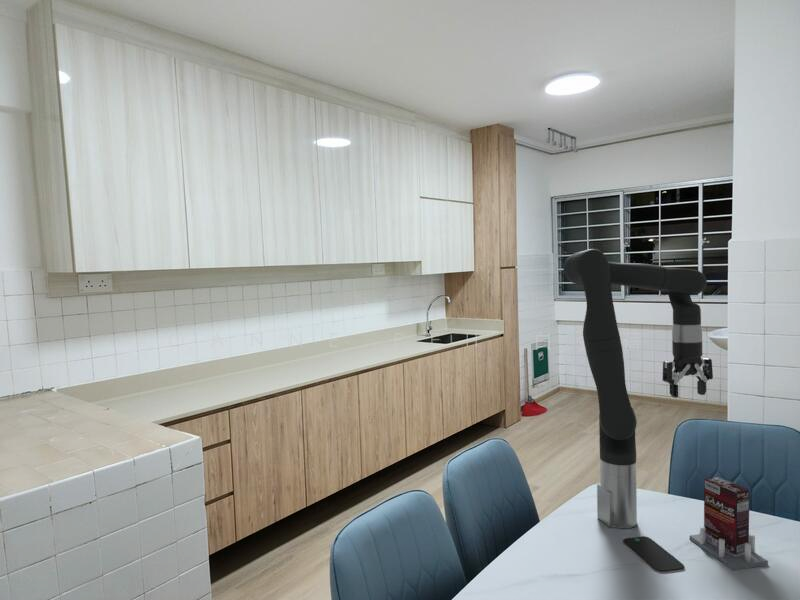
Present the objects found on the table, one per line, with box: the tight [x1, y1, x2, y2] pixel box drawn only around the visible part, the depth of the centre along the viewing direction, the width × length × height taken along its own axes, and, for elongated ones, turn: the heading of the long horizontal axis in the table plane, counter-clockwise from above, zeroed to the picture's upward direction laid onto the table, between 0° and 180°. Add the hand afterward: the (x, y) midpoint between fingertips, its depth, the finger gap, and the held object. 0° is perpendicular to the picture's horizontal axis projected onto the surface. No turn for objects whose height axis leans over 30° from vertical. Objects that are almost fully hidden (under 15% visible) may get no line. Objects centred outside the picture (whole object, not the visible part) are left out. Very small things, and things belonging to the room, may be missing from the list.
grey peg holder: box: [689, 525, 769, 571], centre depth 126 cm, size 9×14×5 cm
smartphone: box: [622, 535, 686, 574], centre depth 126 cm, size 8×1×15 cm
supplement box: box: [703, 476, 750, 558], centre depth 126 cm, size 9×5×16 cm, turn 20°
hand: (687, 395), depth 149 cm, fingers open, 8 cm apart
